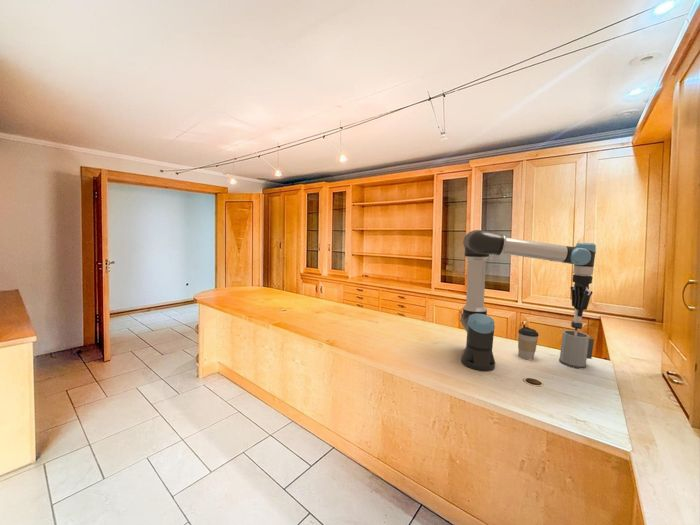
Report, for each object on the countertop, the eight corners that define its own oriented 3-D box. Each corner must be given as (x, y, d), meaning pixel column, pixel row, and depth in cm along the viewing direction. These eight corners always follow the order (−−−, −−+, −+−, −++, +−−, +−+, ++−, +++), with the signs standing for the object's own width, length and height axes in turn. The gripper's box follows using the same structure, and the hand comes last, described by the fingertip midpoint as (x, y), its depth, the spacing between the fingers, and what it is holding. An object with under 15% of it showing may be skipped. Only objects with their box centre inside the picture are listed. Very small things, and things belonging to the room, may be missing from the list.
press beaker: (566, 367, 143) (570, 336, 142) (554, 358, 154) (557, 329, 152) (597, 370, 142) (601, 338, 140) (582, 360, 152) (586, 331, 151)
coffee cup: (539, 361, 149) (542, 332, 148) (519, 359, 151) (522, 330, 149) (531, 354, 158) (534, 327, 157) (513, 352, 160) (516, 325, 158)
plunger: (570, 354, 144) (573, 324, 143) (561, 349, 152) (564, 320, 150) (586, 356, 144) (589, 325, 142) (576, 350, 151) (580, 321, 149)
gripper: (600, 277, 136) (594, 327, 139) (582, 273, 149) (577, 318, 152) (582, 276, 137) (577, 325, 140) (566, 272, 150) (561, 317, 153)
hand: (577, 322), depth 146 cm, fingers closed
